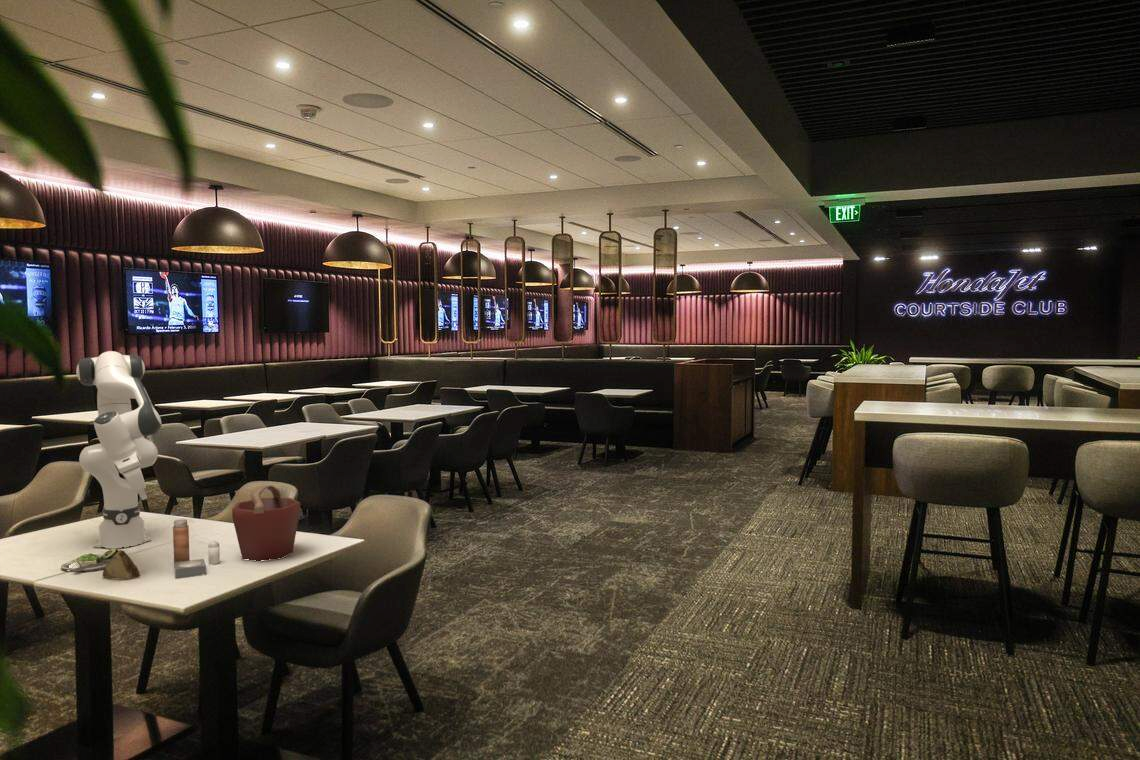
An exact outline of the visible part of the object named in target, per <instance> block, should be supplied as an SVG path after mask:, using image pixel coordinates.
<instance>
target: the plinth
mask: <svg viewBox="0 0 1140 760" xmlns="http://www.w3.org/2000/svg"><path fill="white" fill-rule="evenodd" d="M173 569H174V577H175V579H176V578H177V579H182V578H183V577H184V578H190V576H191V577H196V576H195V575H198V576H203V575H202V574H205V575H207V565H206V562H205V559H204V558H199V559H192V560H191V559H190V560H189V561H182V562H174V561H173Z"/></svg>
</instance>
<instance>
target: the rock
mask: <svg viewBox="0 0 1140 760" xmlns="http://www.w3.org/2000/svg"><path fill="white" fill-rule="evenodd" d="M140 576H141V577H142V575H141V572H140V570H139V568H138V566H137V565H135V563H134V561H133V560H132V558H131V557H130V556H129V555H128V553H127V552H125V550H122V549H118V552H117V553H116V554H115V555H114V556H113V558H111V559H110V560H109V562H108V563H107V565H106V566H105V569H103V572H102V578H103V577H104V578H103V579H111V578H118V579H117V580H133V579H137V578H139V577H140ZM141 577H140V578H141Z"/></svg>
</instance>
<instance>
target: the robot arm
mask: <svg viewBox="0 0 1140 760" xmlns="http://www.w3.org/2000/svg"><path fill="white" fill-rule="evenodd" d="M145 372H146V366H145V363H144V360H142V357H141V356H139V355H137V354H129V355H128V354H121V353H120V352H118V351H113V350H109V351H104V352H102V353H101V354H100V355H99V356H96V357H85V358H82V359H80V360H79V361H78V364H77V366H76V370H75V373H76V376H77V379H78V381H79V382H80V384H82V385H83V386H89V387H92V386H96V389H97V393H96V394H97V395H96V397H97V398H96V399H97V400H96V402H97V413H98V414H97V415H98V416H97V417H96V418H94V420H93V426H94V430H95V432H96V433H95V434H96V436H97V438H98V441H99V442H100V443H96V444H93V445H92V444H91V445H88V446H85V447H84V448H83V449H82V450H81V452H80V454H79V459H78V461H79V462H78V463H79V465H80V466H81V468H82V469H83V471H85V472H86V473H87V474H89V475H92V476H93V477H94V478H95V479H96V480H97V482H98V483H99V484H100V486H101V489H102V494H103V504H104V505H103V506H104V507H103V509H102V516H103V517H102V518H103V521H102V522H101V523H99V525H98V540H96V541H95V543H94V544H93V546H94V547H93V548H101V547H105V548H104V549H113V548H117V549H123V548H122V547H124V548H129V546H131V547H134V546H138V544H139V545H141V544H143V542H144V543H148V542H151V541H152V537H150V536H149V535H148V534H147V533H146V527H145V526H146V525H145V520H144V519H143V518H142V517H141V516H140V511H141V508H140V505H139V498H140V499H141V501H145V500H147V499H148V496H147V493H146V491H145V489H146V488H147V485H146V482H145V479H144V476H143V472H142V470H141V469H145V468H148V467H151V466H153V465H154V464H155V462H156V461H157V460H158V456H159V451H158V448H157V446H156V445H155V444H154V443H153V442H152V441H151V440H149V439H147V438H145V437H149V436H152V435H156V434H157V433H158V432H159V431H160V430H161V427H162V426H163V425H162V419H161V416H160V414H159V412H158V411H157V410H156V409H155V406H154V404H153V401H152V400H151V398H150V396H149V393H148V392H147V389H146V388H145V386H144V384H143V383H142V381H141V380H142V379H143V378H144V374H145ZM131 399H134V400H135V401H136V402H137V404H138V407H137V408H136V409H134V410H132V404H131V403H132V401H131ZM120 474H121V475H123V478H122V477H120ZM138 495H139V496H138ZM138 497H139V498H138ZM150 540H151V541H150ZM147 541H148V542H147Z"/></svg>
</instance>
